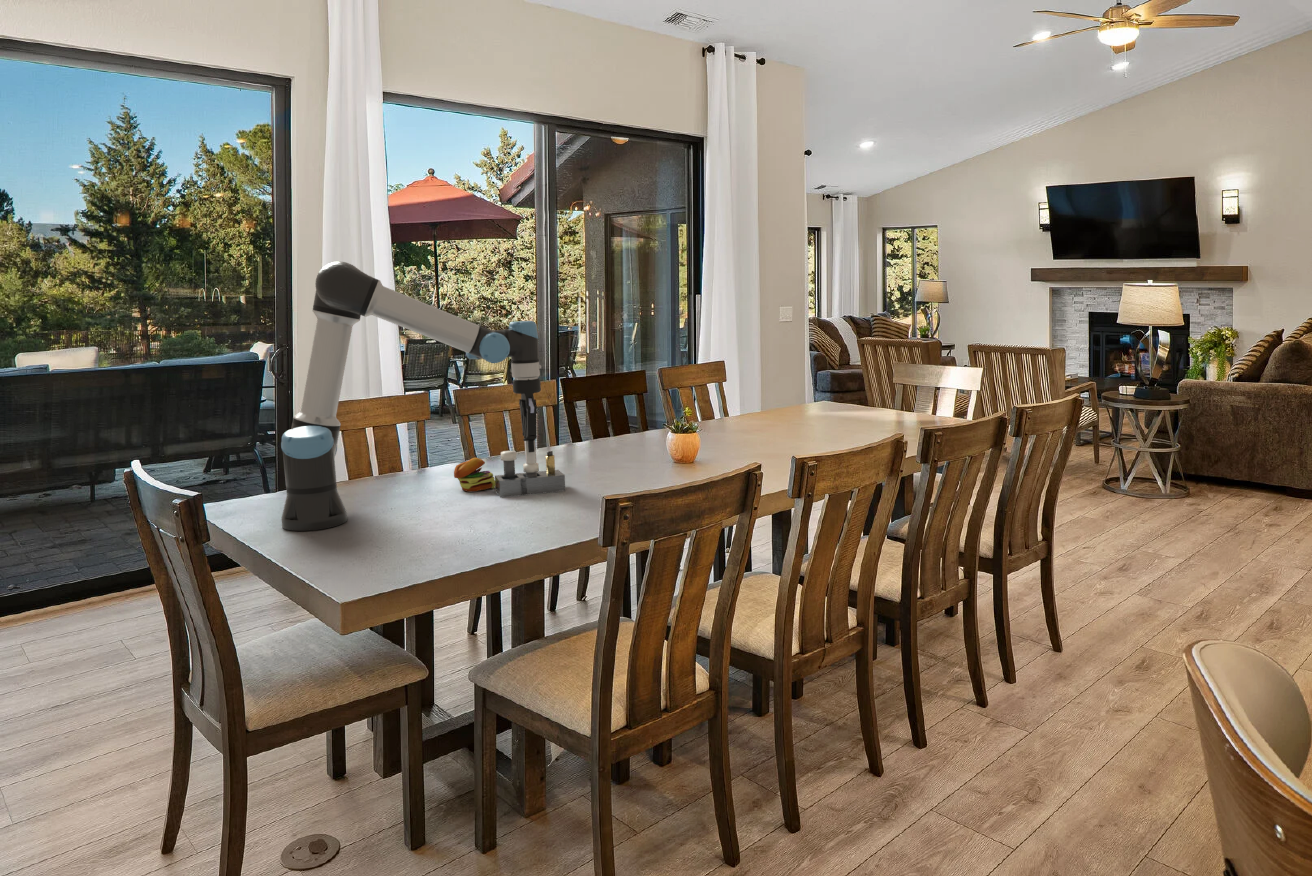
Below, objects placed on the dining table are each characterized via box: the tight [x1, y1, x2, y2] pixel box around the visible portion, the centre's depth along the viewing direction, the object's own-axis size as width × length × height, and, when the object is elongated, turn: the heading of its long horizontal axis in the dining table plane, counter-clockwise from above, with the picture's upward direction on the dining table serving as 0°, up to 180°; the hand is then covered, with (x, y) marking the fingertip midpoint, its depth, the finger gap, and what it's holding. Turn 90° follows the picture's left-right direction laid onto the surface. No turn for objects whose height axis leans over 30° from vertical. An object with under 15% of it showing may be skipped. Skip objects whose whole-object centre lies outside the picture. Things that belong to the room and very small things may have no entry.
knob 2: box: [522, 462, 540, 477], centre depth 255 cm, size 4×4×7 cm
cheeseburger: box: [453, 457, 496, 493], centre depth 260 cm, size 10×11×10 cm
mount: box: [494, 469, 566, 498], centre depth 255 cm, size 18×8×4 cm, turn 108°
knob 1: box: [500, 450, 517, 478], centre depth 252 cm, size 4×4×7 cm
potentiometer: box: [545, 450, 556, 474], centre depth 256 cm, size 2×2×6 cm
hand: (531, 463), depth 254 cm, fingers closed
